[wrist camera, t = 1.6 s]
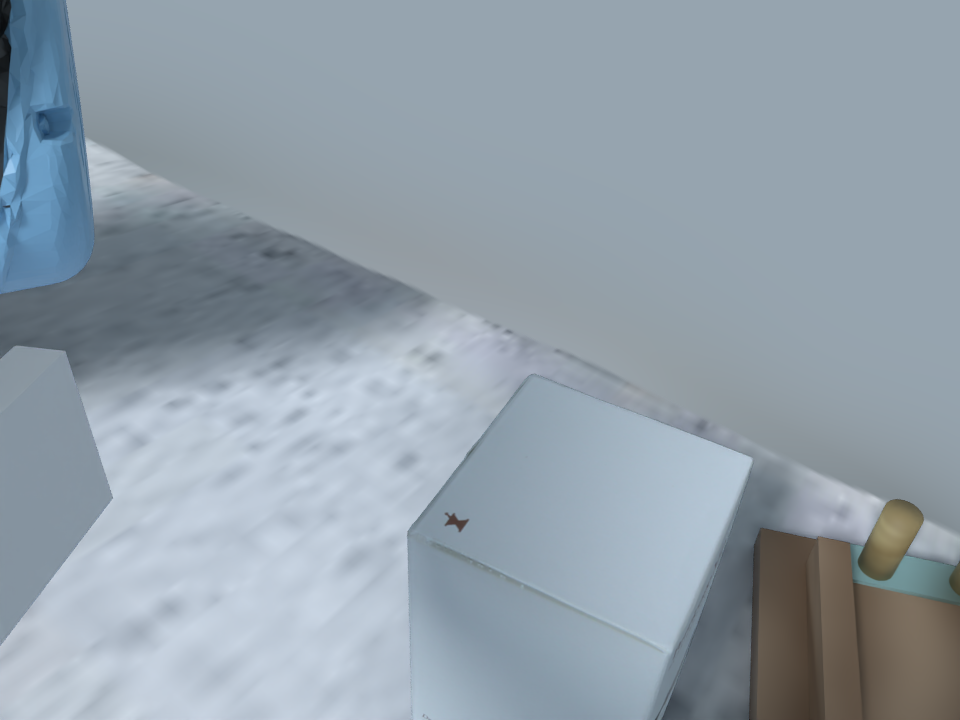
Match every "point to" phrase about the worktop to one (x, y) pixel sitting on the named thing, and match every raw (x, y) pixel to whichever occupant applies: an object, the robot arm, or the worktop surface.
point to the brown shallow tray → (854, 627)
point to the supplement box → (566, 563)
